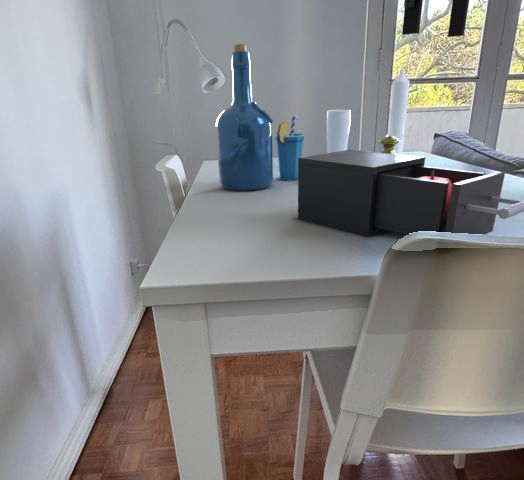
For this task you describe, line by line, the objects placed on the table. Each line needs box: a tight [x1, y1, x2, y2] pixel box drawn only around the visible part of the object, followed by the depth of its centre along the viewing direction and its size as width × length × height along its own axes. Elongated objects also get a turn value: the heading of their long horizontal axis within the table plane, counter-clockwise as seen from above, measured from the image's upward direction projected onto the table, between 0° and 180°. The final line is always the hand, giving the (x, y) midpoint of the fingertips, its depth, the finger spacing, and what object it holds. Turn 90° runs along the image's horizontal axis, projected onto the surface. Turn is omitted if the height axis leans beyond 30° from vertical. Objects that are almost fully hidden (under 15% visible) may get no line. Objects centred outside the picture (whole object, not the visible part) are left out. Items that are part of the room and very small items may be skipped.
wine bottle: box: [215, 43, 275, 192], centre depth 110 cm, size 14×13×30 cm
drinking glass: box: [325, 109, 351, 153], centre depth 138 cm, size 7×7×15 cm
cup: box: [274, 114, 305, 181], centre depth 123 cm, size 14×8×15 cm, turn 163°
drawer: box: [372, 165, 524, 236], centre depth 72 cm, size 22×13×9 cm, turn 40°
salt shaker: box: [378, 134, 399, 154], centre depth 120 cm, size 7×7×10 cm
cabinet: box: [297, 149, 426, 237], centre depth 84 cm, size 17×14×11 cm
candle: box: [387, 66, 411, 155], centre depth 132 cm, size 7×7×25 cm
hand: (434, 35), depth 80 cm, fingers open, 13 cm apart
